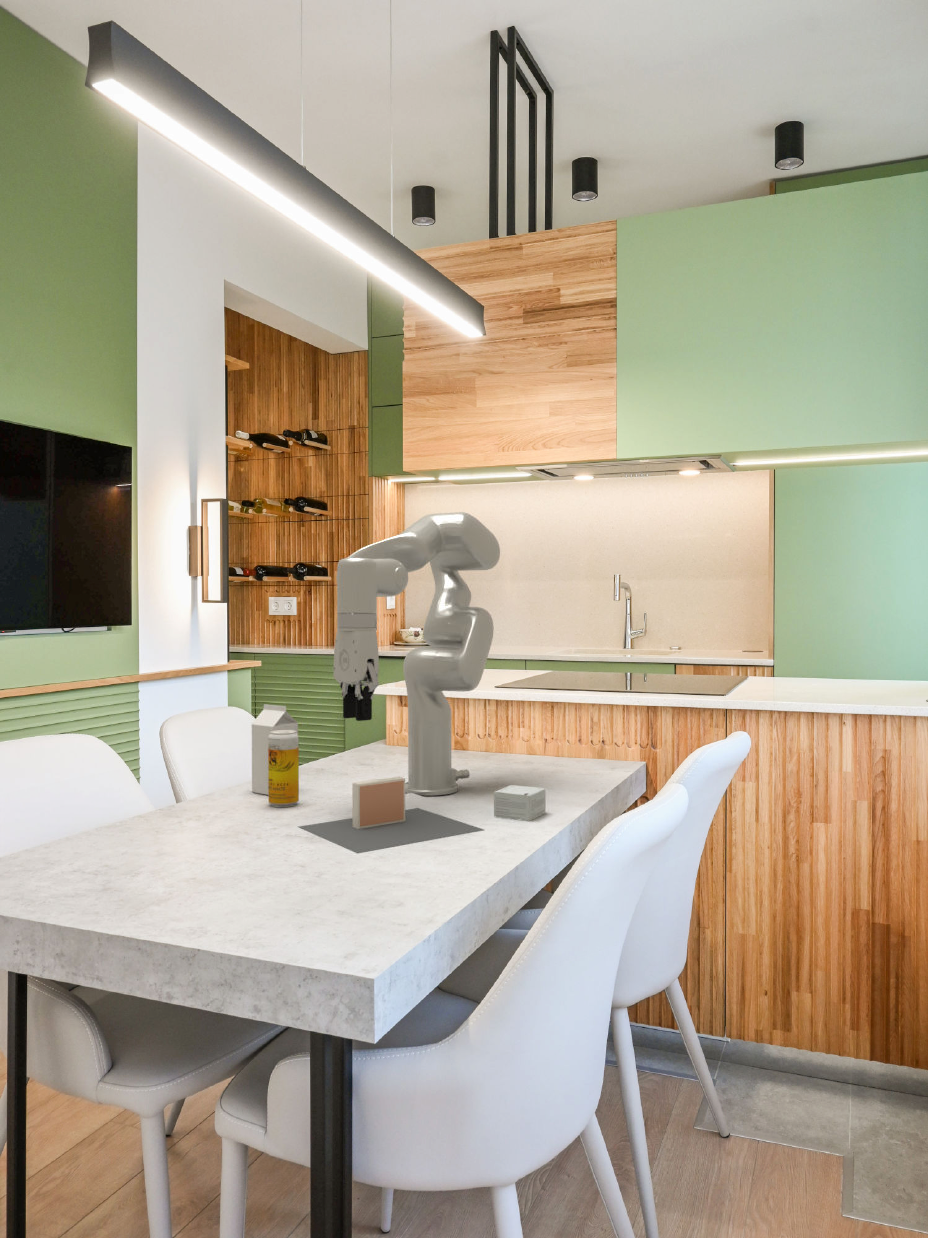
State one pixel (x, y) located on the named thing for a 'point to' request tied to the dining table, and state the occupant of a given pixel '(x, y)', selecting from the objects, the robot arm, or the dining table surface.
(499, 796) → the small box
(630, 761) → the dining table surface
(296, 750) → the beer can
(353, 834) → the mat
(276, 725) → the milk carton
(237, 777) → the dining table surface
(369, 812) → the tile
